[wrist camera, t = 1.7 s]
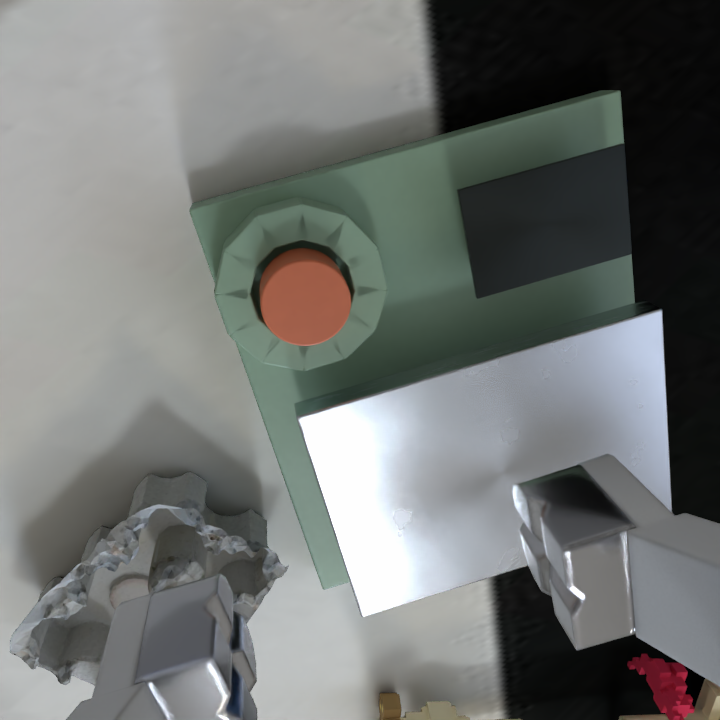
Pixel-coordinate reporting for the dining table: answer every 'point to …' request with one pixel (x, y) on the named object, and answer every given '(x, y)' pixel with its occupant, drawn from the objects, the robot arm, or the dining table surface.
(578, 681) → the dining table surface
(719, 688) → the beige blocky toy
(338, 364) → the scale
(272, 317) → the button
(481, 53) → the dining table surface
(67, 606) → the egg carton
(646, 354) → the scale pan
